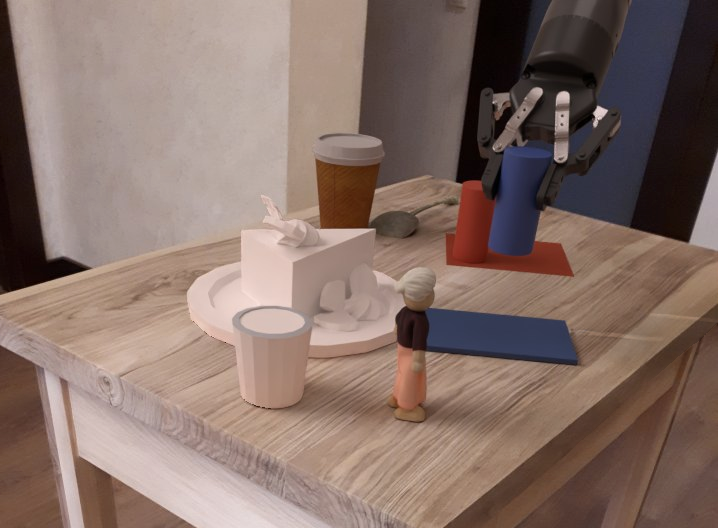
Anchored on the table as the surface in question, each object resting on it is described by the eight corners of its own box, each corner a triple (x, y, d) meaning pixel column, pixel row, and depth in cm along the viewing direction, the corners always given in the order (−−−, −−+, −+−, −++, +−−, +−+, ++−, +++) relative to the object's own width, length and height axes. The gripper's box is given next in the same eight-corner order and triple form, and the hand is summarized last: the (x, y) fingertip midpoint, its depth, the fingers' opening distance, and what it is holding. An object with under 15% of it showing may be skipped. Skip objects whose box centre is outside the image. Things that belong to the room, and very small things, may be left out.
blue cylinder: (530, 243, 80) (549, 148, 75) (534, 257, 77) (555, 159, 71) (486, 239, 80) (502, 144, 75) (489, 253, 77) (506, 155, 72)
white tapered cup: (224, 380, 73) (222, 307, 69) (296, 371, 75) (298, 301, 71) (244, 416, 68) (243, 340, 64) (320, 406, 70) (323, 332, 66)
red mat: (560, 247, 110) (561, 243, 110) (573, 281, 100) (574, 276, 99) (444, 237, 111) (445, 232, 110) (445, 269, 100) (446, 264, 100)
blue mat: (564, 325, 88) (565, 320, 88) (577, 365, 80) (578, 359, 79) (420, 311, 89) (420, 306, 88) (418, 350, 81) (419, 344, 80)
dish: (258, 378, 73) (257, 258, 67) (152, 286, 90) (143, 182, 83) (460, 330, 85) (477, 223, 79) (334, 256, 102) (339, 163, 95)
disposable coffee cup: (347, 219, 115) (353, 129, 108) (392, 237, 109) (401, 144, 102) (295, 229, 110) (297, 135, 102) (338, 249, 104) (344, 152, 97)
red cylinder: (485, 253, 104) (497, 182, 99) (487, 264, 101) (499, 191, 95) (452, 250, 104) (462, 178, 99) (452, 261, 101) (463, 188, 96)
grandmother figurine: (443, 424, 69) (465, 282, 61) (403, 430, 67) (420, 286, 60) (405, 384, 74) (421, 249, 67) (368, 389, 73) (379, 252, 66)
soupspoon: (359, 238, 110) (399, 252, 107) (361, 214, 108) (402, 227, 105) (435, 200, 125) (472, 211, 122) (438, 178, 122) (476, 189, 120)
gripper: (501, 3, 75) (436, 163, 73) (655, 20, 70) (590, 191, 68) (508, 62, 82) (449, 208, 80) (648, 81, 77) (589, 237, 75)
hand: (514, 200), depth 74 cm, fingers closed on blue cylinder, 4 cm apart
